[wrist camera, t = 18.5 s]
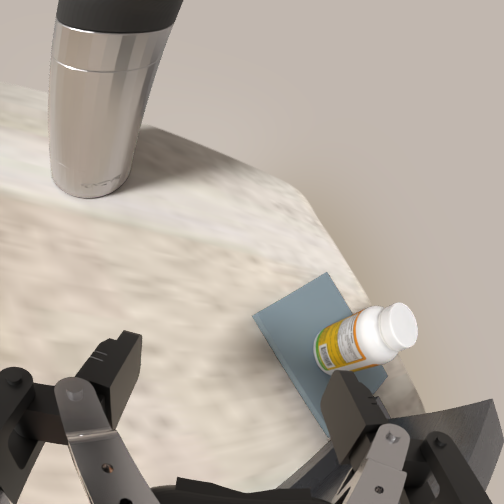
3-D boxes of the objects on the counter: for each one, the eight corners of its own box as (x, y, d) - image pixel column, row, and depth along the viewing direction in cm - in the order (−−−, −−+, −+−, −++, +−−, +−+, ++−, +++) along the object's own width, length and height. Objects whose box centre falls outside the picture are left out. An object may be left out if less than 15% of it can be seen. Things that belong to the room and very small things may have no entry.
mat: (252, 316, 28) (256, 313, 28) (321, 275, 35) (326, 271, 34) (327, 437, 25) (334, 437, 25) (381, 377, 32) (387, 376, 31)
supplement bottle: (355, 342, 31) (425, 314, 24) (342, 385, 28) (418, 366, 20) (320, 318, 31) (389, 282, 23) (304, 361, 27) (379, 336, 20)
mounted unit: (235, 518, 18) (363, 586, 6) (369, 398, 30) (490, 367, 18) (289, 568, 16) (408, 618, 4) (400, 452, 28) (511, 437, 16)
